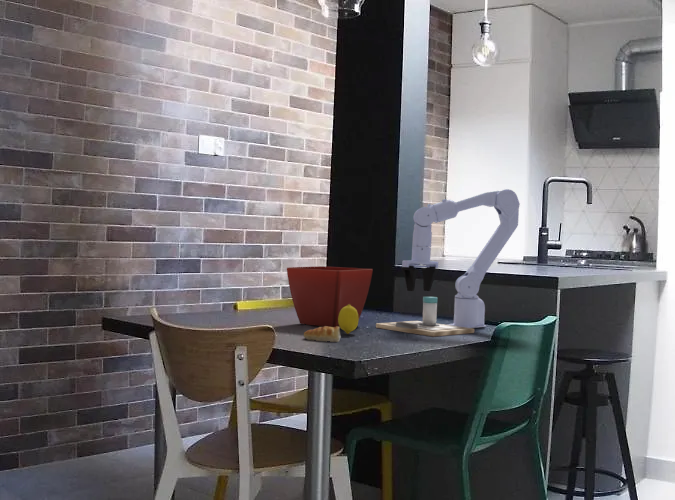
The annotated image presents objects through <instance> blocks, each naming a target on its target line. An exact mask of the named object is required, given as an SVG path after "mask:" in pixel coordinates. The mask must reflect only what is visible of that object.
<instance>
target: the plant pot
mask: <svg viewBox="0 0 675 500" xmlns="http://www.w3.org/2000/svg"><path fill="white" fill-rule="evenodd" d="M286 274H287V280H288V286H289V291H290V295H291V300H292V304H293V307H294V310H295V313H296V316H297V318H298V322H299V324H300V325H305V324H306V325H309V326H316V327H317V326H318V327H324V326H328V327H336V326H337V327H339V328H340V326H339V323H338V317H339V313H340V311H341V309H342V308H343V307H345V306H347V305H351V306H352V307H354V308H355V309H356V310H357V312H358V317H359V319H360V318H361V315H362V312H363V310H364V307H365V304H366V301H367V297H368V294H369V290H370V287H371V282H372V276H373V268H360V267H359V268H358V267H342V266H341V267H340V266H323V265H322V266H318V265H317V266H291V267H286Z"/></svg>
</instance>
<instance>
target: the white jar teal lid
mask: <svg viewBox="0 0 675 500" xmlns="http://www.w3.org/2000/svg"><path fill="white" fill-rule="evenodd" d="M437 312H438V297H437V296H422V321H423V322H422V324H423V325H436V323H437V317H438V316H437Z"/></svg>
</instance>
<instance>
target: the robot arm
mask: <svg viewBox="0 0 675 500" xmlns="http://www.w3.org/2000/svg"><path fill="white" fill-rule="evenodd" d="M520 204H521V203H520V201H519V198H518V195H517V193H516V192H515V191H514V190H512V189H508V188H507V189H505V188H504V189H502V190H496V191H488V192H484V193H480V194H478V195H474V196H471V197H468V198H465V199H463V200H459V201H454V200H452V199H447V198H444V199H442V200H441V201H439V202H437V203H434V204H431V203H429V204H427V206H422V207H420V208H418V209H417V210H415V212H414V213H413V217H412V219H413V222H414V225H413V232H412V245H411V259H409V260H408V259H407V260H402V263H401V267H400V270H401V272H402V274H403V277H404V280H405V285H406V290H407V291H408V292H415V287H416V279H417V276H418V273H419V271H420V269H419V268H421V273H422V281H423V283H422V284H423V286H422V287H423V291H424V292H431V289H432V288H433V287H432V286H433V283H434V281H435V278H436V276H437V274H438V273H439V271H440V268H439V261H433V260H431V255H432V254H431V253H432V252H431V251H432V237H433V236H432V235H433V232H432V224H433V223H437V224H438V223H441V222H444V221H447V220H451V219H454V218H457V215H458V213H459V212H463V211H466V210H469V209H473V208H477V207H481V206H484V207H488V208H491V207H493V208H494V209H495V210H496V213H497V214H498V218H499V222H500V224H499V225H498V226H497V228H496V229H495V231H494V232H493V234H491V237H490V238H489V239H488V241H487V243H486V244H485V246H484V247H483V248H482V250H481V251H480V253H479V254H478V256H477V257H476V258H475V260H474V261H473V263H472V264H471V266H470V267H468V268H467V270H466V272H465V273H464V274H462V275H461V276H459V277H458V278H457V279H456V280H455V287H454V288H455V290H456V291H457V293H456V294H455V295H454V306H453V307H454V309H453V314H454V315H453V323H448V324H447V325H451V326H459V327H466V328H473V329H476V328H477V329H478V328H487V325H486V324H485V313H486V305H485V302H484V300H483V299H481V298H480V297H479V295H478V294H479V292H480V291H479V290H480V286H481V283H482V281H484V277H485V275H486V273H487V272H488V270H490V269H489V268H490V267H491V266H492V265H493V263H494V262H495V260H496V259H497V257H498V256H499V254H500V253H501V252H502V250H503V249H504V247H505V246H506V244H507V243H508V242H509V240H510V238H511V237H512V235H513V234H514V232H515V231H516V229H517V228H518V226H519V211H520V210H519V209H520V206H521V205H520Z"/></svg>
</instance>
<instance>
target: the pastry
mask: <svg viewBox="0 0 675 500" xmlns="http://www.w3.org/2000/svg"><path fill="white" fill-rule="evenodd" d="M340 329H341V328H340V327H337V326H336V327H328V326H318V327H316V328H314V329H308V330H306V331H304V332H303V338H304V339H306V340H307V341H314V340H316V342H327V341H330V343H338V342H340V339H341V338H342V336H341V330H340Z"/></svg>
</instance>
